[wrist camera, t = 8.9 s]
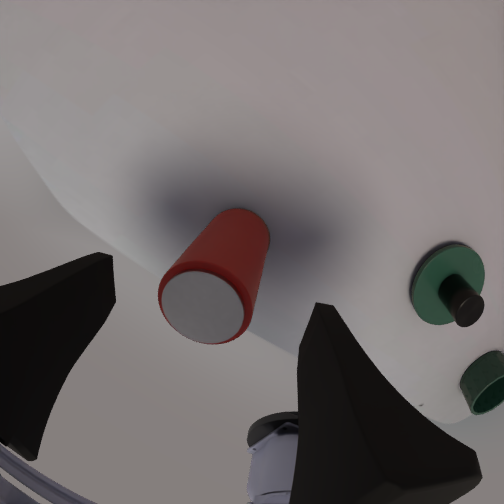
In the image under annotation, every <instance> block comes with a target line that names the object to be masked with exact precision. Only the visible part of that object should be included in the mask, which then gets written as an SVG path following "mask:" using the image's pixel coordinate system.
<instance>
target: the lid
mask: <svg viewBox="0 0 504 504" xmlns="http://www.w3.org/2000/svg"><path fill="white" fill-rule="evenodd" d="M484 278H485V272H484V265H483V262H482V260H481V258H480V256H479V255H478V254H477V253H476V252H475V251H474V250H472V249H471V248H469V247H467V246H465V245H450V246H446V247H444V248H441V249H440V250H438V251H436V252H435V253H434V254H432V255H431V256H430V257H429V258H428V259H427V260H426V261H425V262H424V263H423V265H422V266H421V268H420V269H419V271H418V273H417V275H416V277H415V280H414V283H413V287H412V303H413V306H414V309H415V311H416V312H417V314H418V316H419V317H420V318H421V319H422V320H423V321H425V322H427V323H430V324H434V325H444V324H448V323H451V322H453V321H455V322H456V323H457V325H459V326H461V327H468V326H470V325H472V324H474V323H475V322H476V321H477V320H478V319H479V318H480V316H481V315H482V313H483V310H484V300H483V298H482V297H481V296H480V293H481V291H482V288H483V284H484Z"/></svg>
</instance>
